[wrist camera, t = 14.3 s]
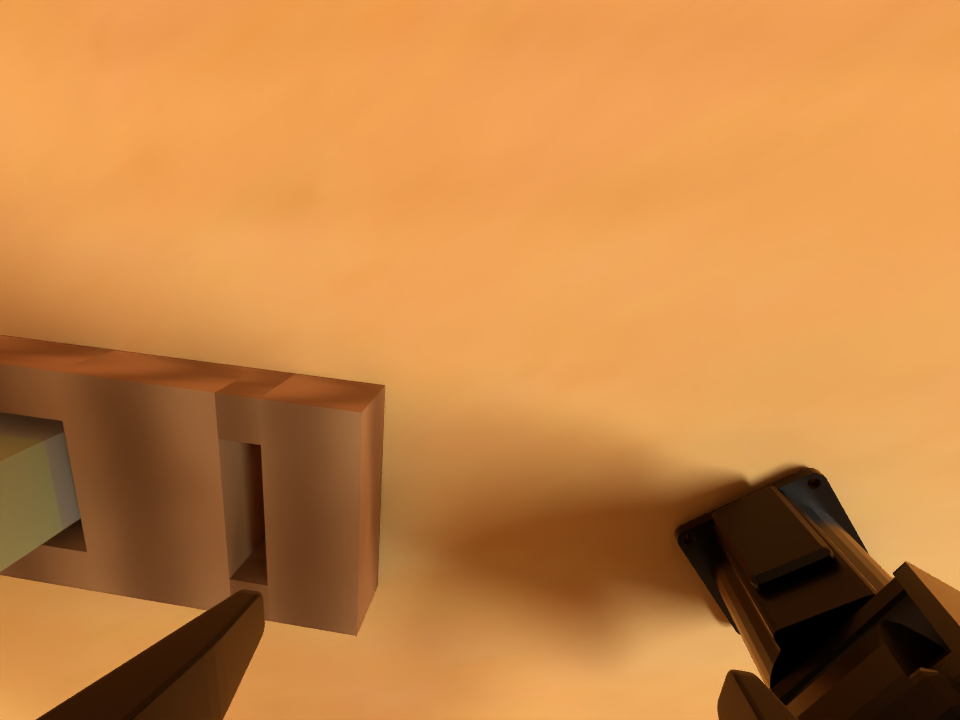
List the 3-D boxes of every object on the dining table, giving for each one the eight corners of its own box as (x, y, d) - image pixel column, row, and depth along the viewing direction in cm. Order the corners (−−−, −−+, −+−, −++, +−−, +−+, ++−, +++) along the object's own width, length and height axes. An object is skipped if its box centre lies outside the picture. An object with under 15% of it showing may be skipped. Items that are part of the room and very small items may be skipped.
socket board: (385, 385, 21) (361, 412, 18) (377, 585, 24) (356, 635, 21) (-68, 326, 22) (-155, 342, 20) (-16, 522, 26) (-85, 560, 23)
